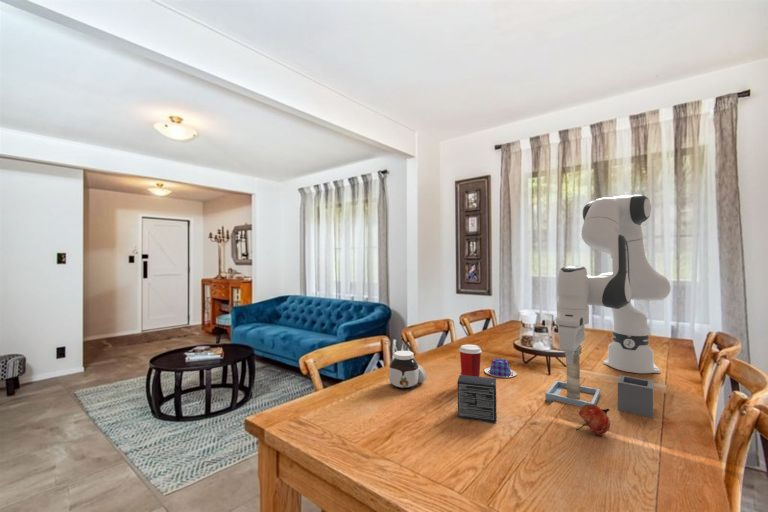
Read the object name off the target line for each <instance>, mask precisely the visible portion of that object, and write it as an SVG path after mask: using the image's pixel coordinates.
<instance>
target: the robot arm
mask: <svg viewBox="0 0 768 512" xmlns="http://www.w3.org/2000/svg"><path fill="white" fill-rule="evenodd" d="M651 213H652V204H651V201H650V198H648V197H647V196H646V195H644V194H633V195H620V196H619V195H618V196H613V197H601V198H597V199H595V200H592V201H589V202H587V203H586V204H585V205H584V206H583V209H582V219H583V223H582V227H581V235H580V236H581V238H582V241H583V242H584V243H585V244H586V245H587V246H588V247H590V248H592V249H594V250H596V251H599V252H602V253H606V254H609V255H610V258H611V261H612V264H611V265H612V268H611V269H612V271H610V272H603V273H600V274H598V275H588V271H587V268H586V267H585V266H582V265H568V266H564V267H561V268H560V269H559V272H558V277H557V290H556V291H557V292H556V293H557V297H558V302H557V305H556V306H557V308H556V309H557V315H556V318H555V325H556V326H557V333H558V334H557V335H558V345H559V349H560V351H561V352H564V353H565V354H564V355H565V357H566V358H565V360H566V361H565V362H566V365H567V364H571V365H572V364H573V363H574V358H573V354H574V355H578V356H580V350H581V344H582V343H583V342H585V338H586V337H585V336H586V335H585V334H586V333H585V325H589V324H590V308H589V307H590V306H596V307H597V306H598V307H605V308H610V309H611V312H612V316H613V317H612V319H613V331H612V335H611V336H612V342H610V343H609V344H608V348H607V359H604V360H602V361H603V362H602V364H603V365H606V366H609V367H611V368H614V369H616V370H618V371H622V372H627V373H635V374H660V373H661V370H660V369H659V367H658V366H657V365H656V364H655V363H654V362H655V359H654V350H653V349H652V348H651V347H650V346H649V345H650V338H649V335H648V317H647V315H646V314H645V312H643V311H642V310H641V309H639V308H636V307H634V306H633V304H632V303H631V300H633V301H636V300H637V301H646V302H652V301H654V302H655V301H663V300H665V299H666V298H667V297H668V296H669V294H670V292H671V283H670V280H668V278H667V277H666V276H664V275H663V274H661V273H659V272H658V271H657V270H655V269H654V267H652V265H651V264H650V263H649V261H648V259H647V257H646V253H645V252H646V251H645V246H644V235H643V230H642V224H643V223H644V222H646V221H647V220H648V219H649V218H650V215H651Z"/></svg>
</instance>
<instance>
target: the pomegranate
mask: <svg viewBox="0 0 768 512" xmlns="http://www.w3.org/2000/svg"><path fill="white" fill-rule="evenodd" d="M610 411H611V409H610V408H609V407H608V408H604V409H602V408H600V407H599V406H597V405H590V404H587V405H584V406H583V407H581V408H579V411H578V416H579V417H580V418H581V419H583V422H584V423H583V425H581V426H579V427H578V428H576V429H575V431H576V432H577V431H578V430H580V429H583V428H584V427H585V426H587V427H588V428H589V429H590V430H592V433H593V434H595V435H596V436H602V435H604V434H606V433H607V432H608V431H609V430H610V427H611V420H610V417H609V416H608V415H607V414H608V412H610Z"/></svg>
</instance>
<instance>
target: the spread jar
mask: <svg viewBox="0 0 768 512" xmlns="http://www.w3.org/2000/svg"><path fill="white" fill-rule="evenodd" d="M414 354H415V353H414V352H412V351H410V350H397V351H395V352H394V353H393V355H394V358H393V359H392V360H391V362H390V364H389V369H388V379H389V382H390V385H391V386H392V387H393V388H394V389H396V390H401V391H407V390H408V391H409V389H410V390H412V389H414V388H415V387H416V386H417V385H418V383H419V384H422V383H424V382H425V381H426V380H427V372H426V370H425V369H424V368H423V366H421V365H420V364H419V363H418V362H417V360H416V359H415V358H414V356H415V355H414Z"/></svg>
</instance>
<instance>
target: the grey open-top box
mask: <svg viewBox="0 0 768 512" xmlns="http://www.w3.org/2000/svg"><path fill="white" fill-rule="evenodd" d="M654 407H655V405H654V380H651V379H647V378H640V377H635V376H630V375H629V376H628V375H624V374H620V375H619V378H618V380H617V410H618V411H619V412H620V411H621V412H625V413H629V414H632V415H633V414H634V415H638V416H641V417H647V418H650V419H654V409H655V408H654Z"/></svg>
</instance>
